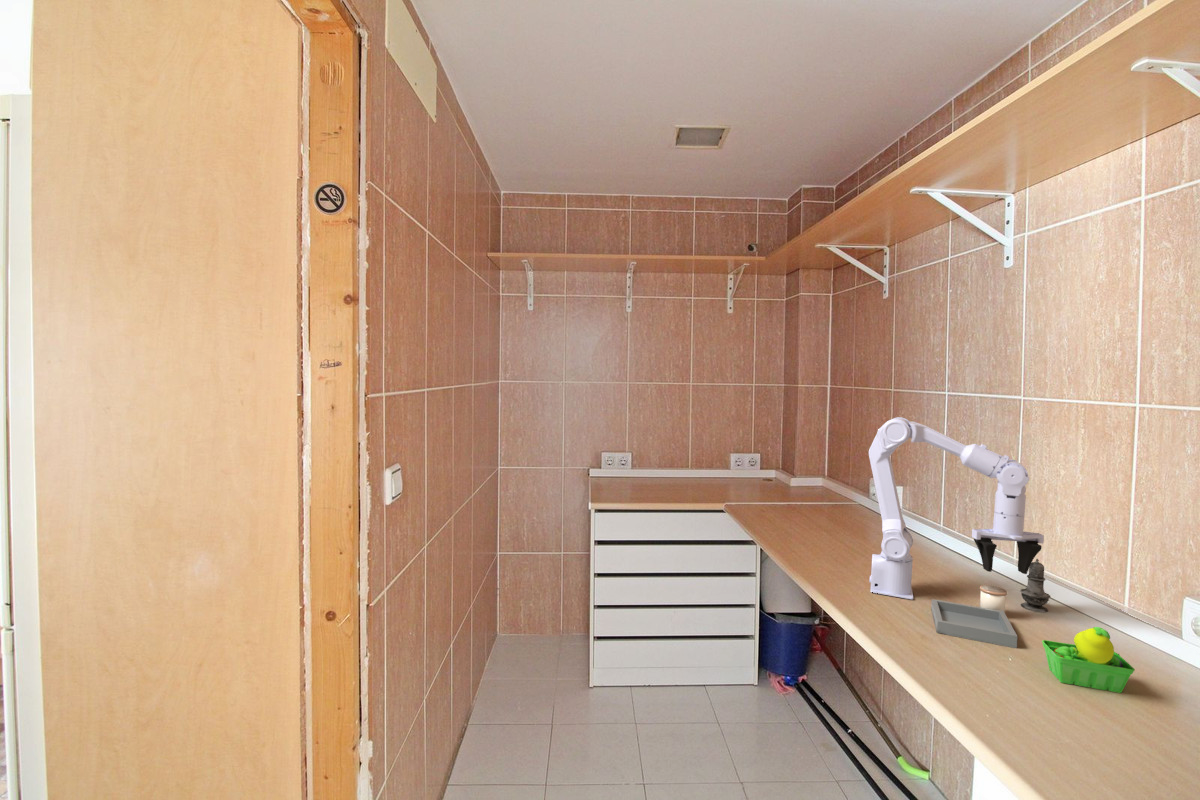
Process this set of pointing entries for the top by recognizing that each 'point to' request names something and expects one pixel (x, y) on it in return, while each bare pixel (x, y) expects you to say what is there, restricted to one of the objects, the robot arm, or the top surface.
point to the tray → (973, 623)
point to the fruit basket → (1088, 661)
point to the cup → (992, 597)
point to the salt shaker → (1035, 589)
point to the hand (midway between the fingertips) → (1004, 571)
